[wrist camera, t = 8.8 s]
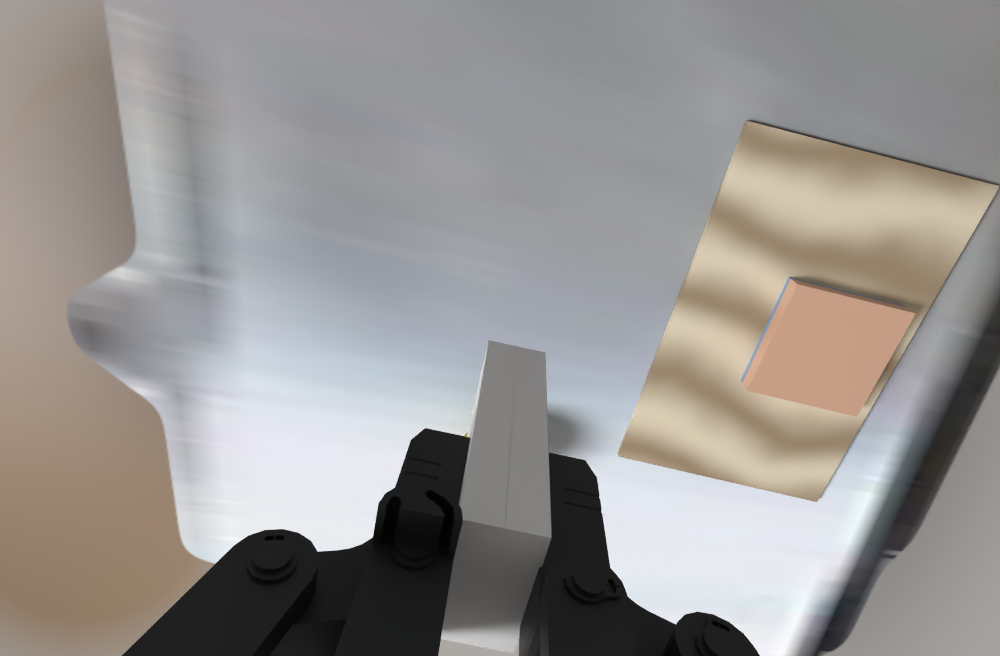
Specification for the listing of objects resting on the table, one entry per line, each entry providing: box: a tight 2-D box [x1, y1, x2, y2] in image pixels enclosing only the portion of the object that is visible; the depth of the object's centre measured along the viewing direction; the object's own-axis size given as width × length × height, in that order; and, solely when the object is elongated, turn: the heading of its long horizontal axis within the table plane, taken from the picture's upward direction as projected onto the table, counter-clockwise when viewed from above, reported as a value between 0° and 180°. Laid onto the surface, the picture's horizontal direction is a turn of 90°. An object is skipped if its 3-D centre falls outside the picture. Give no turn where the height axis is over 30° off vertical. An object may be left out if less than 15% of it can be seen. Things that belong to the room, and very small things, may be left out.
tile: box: [741, 277, 916, 417], centre depth 45 cm, size 9×2×9 cm
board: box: [618, 121, 1000, 502], centre depth 46 cm, size 28×18×1 cm, turn 167°
